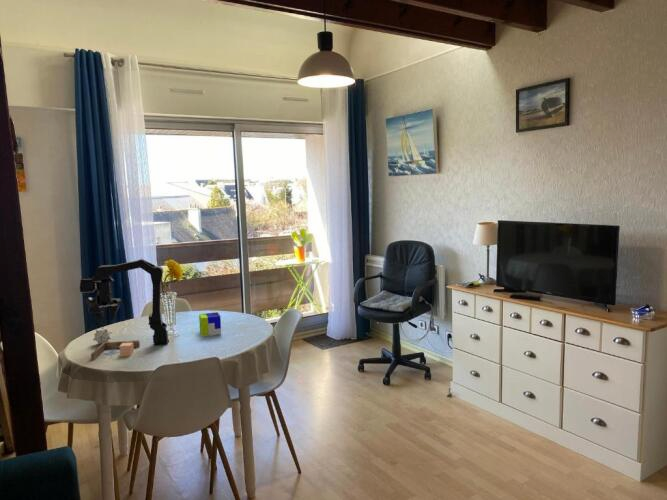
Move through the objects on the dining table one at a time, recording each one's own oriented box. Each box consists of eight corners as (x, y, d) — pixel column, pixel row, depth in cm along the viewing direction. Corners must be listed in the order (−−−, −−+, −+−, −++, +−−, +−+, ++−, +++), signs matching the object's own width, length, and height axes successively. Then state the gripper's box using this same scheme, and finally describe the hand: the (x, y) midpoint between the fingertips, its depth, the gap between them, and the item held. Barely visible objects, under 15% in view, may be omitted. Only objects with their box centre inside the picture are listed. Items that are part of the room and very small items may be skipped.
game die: (100, 351, 254) (86, 339, 249) (102, 341, 262) (89, 329, 256) (115, 343, 254) (102, 330, 249) (117, 333, 262) (104, 320, 256)
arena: (139, 346, 251) (139, 340, 251) (130, 358, 233) (129, 351, 232) (103, 348, 248) (103, 342, 248) (91, 360, 230) (90, 354, 230)
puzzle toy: (221, 334, 270) (220, 316, 269) (202, 336, 267) (201, 318, 265) (218, 329, 279) (217, 312, 278) (200, 331, 276) (199, 314, 275)
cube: (133, 352, 241) (133, 342, 241) (131, 355, 236) (130, 345, 236) (123, 353, 241) (122, 343, 240) (120, 356, 236) (119, 346, 235)
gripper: (101, 287, 256) (104, 317, 258) (76, 295, 238) (79, 327, 239) (121, 287, 254) (123, 317, 256) (97, 295, 236) (100, 327, 237)
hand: (106, 322), depth 247 cm, fingers open, 9 cm apart
